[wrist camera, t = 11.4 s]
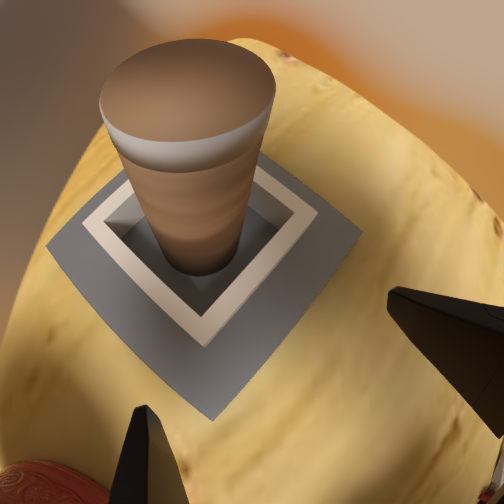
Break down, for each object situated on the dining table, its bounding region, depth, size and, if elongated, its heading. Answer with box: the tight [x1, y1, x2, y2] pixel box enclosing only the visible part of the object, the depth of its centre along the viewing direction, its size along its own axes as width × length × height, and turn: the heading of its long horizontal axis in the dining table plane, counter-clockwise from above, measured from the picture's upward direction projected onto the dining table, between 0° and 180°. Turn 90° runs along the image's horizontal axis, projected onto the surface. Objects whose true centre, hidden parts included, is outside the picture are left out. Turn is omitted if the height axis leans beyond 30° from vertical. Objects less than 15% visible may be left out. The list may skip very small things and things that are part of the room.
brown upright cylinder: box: [99, 39, 276, 277], centre depth 12 cm, size 5×5×12 cm
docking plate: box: [46, 152, 363, 422], centre depth 17 cm, size 16×16×4 cm
